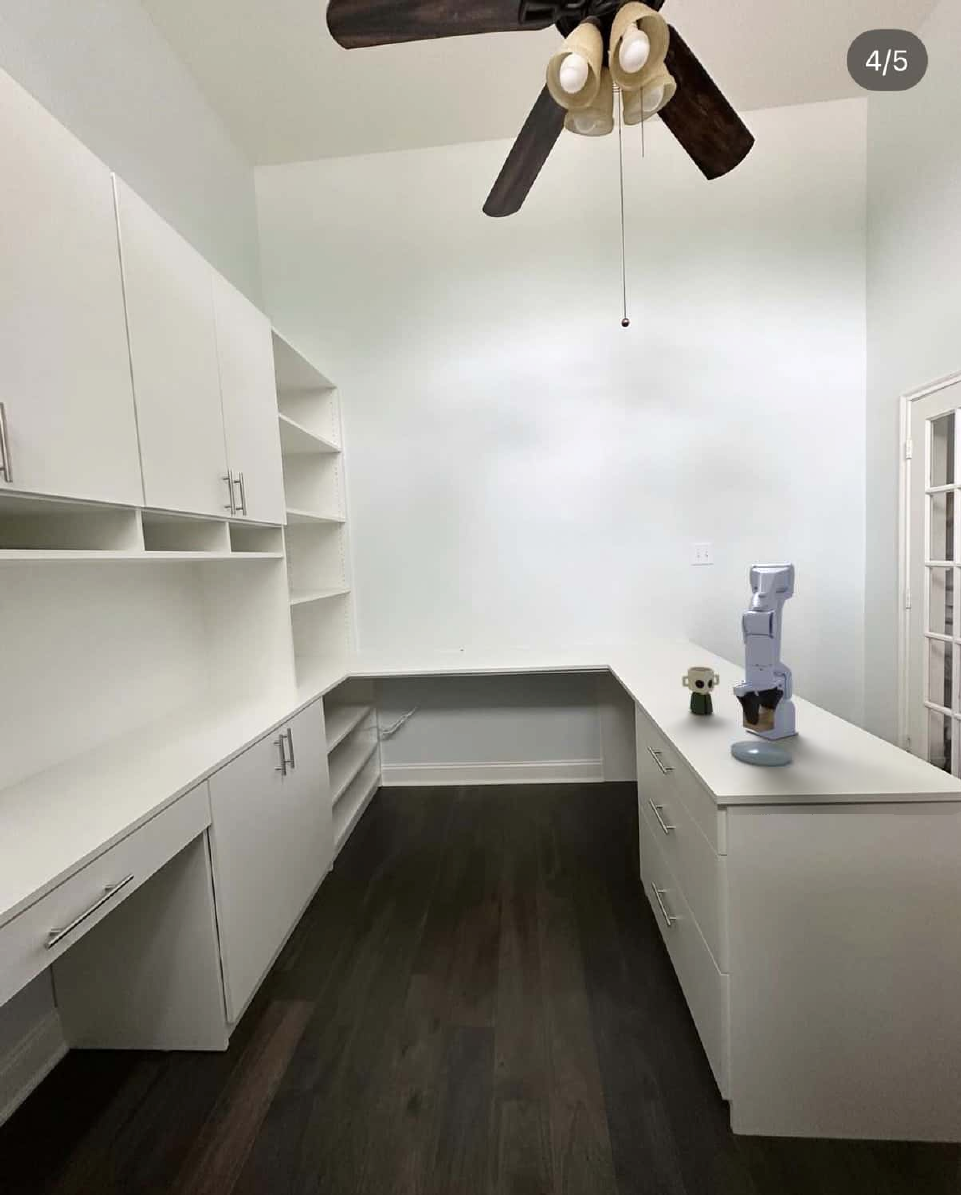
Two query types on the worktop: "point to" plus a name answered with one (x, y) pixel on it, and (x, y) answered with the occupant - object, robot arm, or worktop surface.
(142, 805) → the worktop surface
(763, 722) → the walnut block
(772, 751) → the slate dish
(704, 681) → the character mug
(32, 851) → the worktop surface
